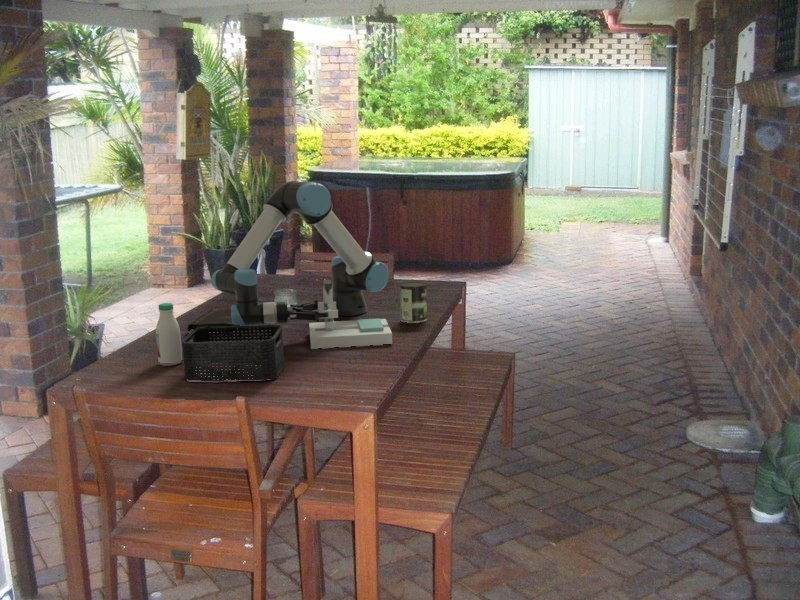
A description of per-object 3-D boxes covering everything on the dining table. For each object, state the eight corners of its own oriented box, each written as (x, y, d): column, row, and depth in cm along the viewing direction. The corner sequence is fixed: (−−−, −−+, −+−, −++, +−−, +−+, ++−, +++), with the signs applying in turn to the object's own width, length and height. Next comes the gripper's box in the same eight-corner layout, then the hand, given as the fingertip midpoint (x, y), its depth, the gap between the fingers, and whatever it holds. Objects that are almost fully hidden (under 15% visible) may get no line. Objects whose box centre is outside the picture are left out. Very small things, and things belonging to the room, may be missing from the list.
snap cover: (357, 322, 330) (357, 319, 330) (379, 321, 331) (379, 318, 331) (360, 332, 317) (360, 328, 317) (383, 330, 318) (383, 327, 317)
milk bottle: (187, 361, 302) (182, 302, 297) (174, 367, 294) (169, 307, 290) (167, 359, 304) (162, 301, 300) (153, 366, 297) (148, 306, 293)
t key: (325, 334, 326) (322, 280, 322) (334, 333, 327) (331, 279, 323) (325, 339, 320) (323, 283, 315) (334, 338, 320) (332, 283, 316)
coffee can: (429, 317, 353) (428, 281, 350) (424, 323, 343) (424, 286, 340) (403, 316, 355) (402, 281, 352) (398, 323, 345) (396, 286, 342)
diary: (187, 336, 338) (186, 323, 336) (210, 320, 362) (208, 308, 361) (236, 336, 335) (234, 322, 334) (255, 320, 359) (254, 307, 358)
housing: (309, 333, 333) (309, 322, 332) (385, 329, 336) (385, 318, 335) (310, 349, 312) (310, 337, 311) (392, 344, 315) (392, 333, 314)
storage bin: (182, 384, 277) (178, 341, 275) (199, 366, 296) (196, 326, 293) (275, 382, 276) (272, 339, 273) (286, 364, 295) (284, 324, 292)
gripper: (277, 315, 332) (335, 312, 334) (276, 331, 308) (339, 328, 310) (276, 295, 330) (334, 292, 333) (274, 310, 306) (338, 306, 308)
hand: (337, 309), depth 321 cm, fingers open, 13 cm apart
